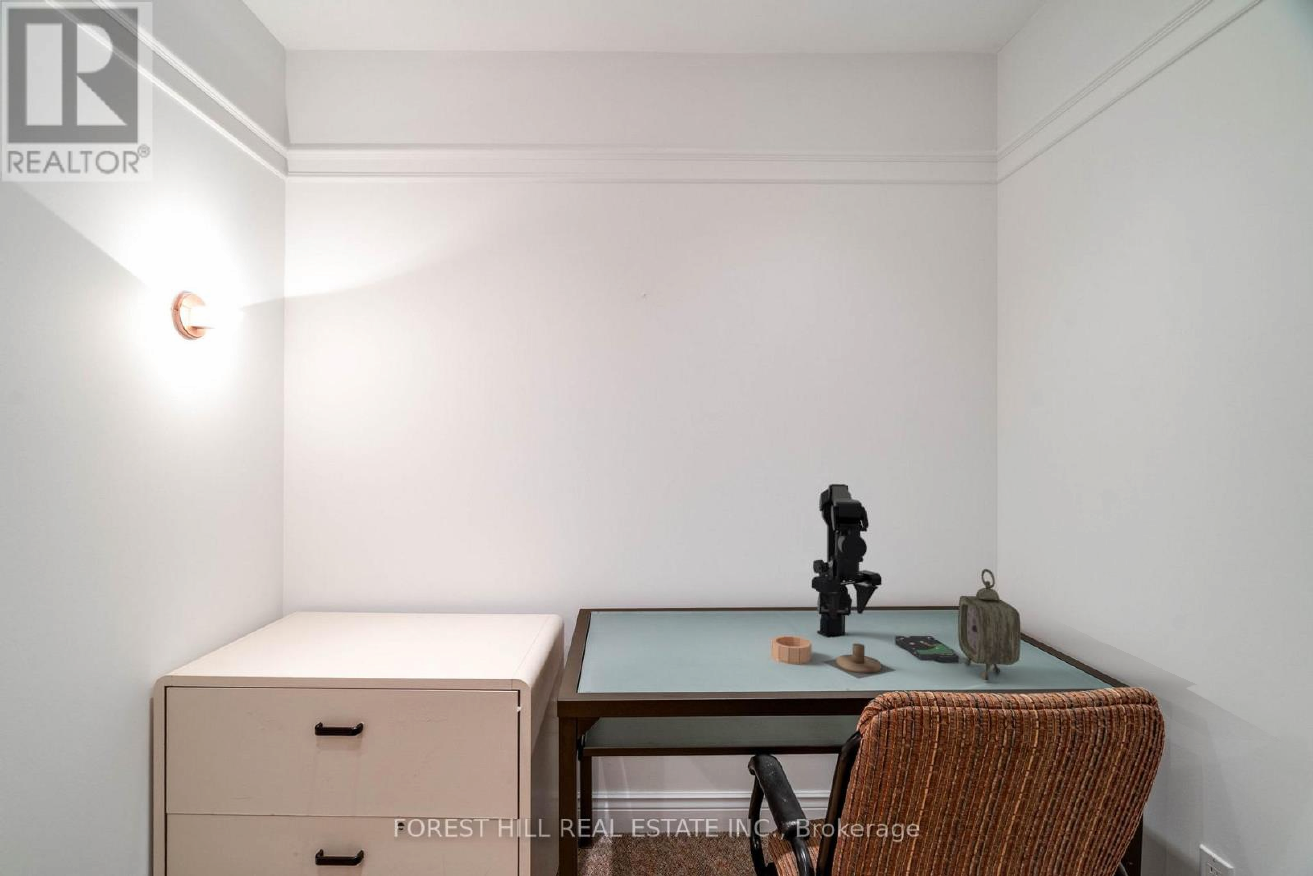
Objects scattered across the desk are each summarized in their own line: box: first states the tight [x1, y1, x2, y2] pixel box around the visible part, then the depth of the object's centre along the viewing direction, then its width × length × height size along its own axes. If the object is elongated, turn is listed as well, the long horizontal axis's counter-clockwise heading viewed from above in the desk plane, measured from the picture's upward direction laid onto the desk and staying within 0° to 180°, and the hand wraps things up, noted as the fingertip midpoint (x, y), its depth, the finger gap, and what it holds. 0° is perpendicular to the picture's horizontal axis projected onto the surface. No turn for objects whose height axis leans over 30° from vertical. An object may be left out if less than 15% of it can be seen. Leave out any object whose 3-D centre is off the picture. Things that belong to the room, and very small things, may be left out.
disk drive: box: [894, 635, 960, 663], centre depth 168 cm, size 10×3×15 cm
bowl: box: [770, 635, 813, 665], centre depth 162 cm, size 10×10×4 cm
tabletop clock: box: [957, 568, 1021, 682], centre depth 154 cm, size 14×9×25 cm, turn 174°
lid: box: [835, 643, 882, 674], centre depth 156 cm, size 10×10×5 cm
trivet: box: [822, 658, 896, 679], centre depth 156 cm, size 12×12×1 cm
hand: (846, 616), depth 157 cm, fingers open, 9 cm apart
